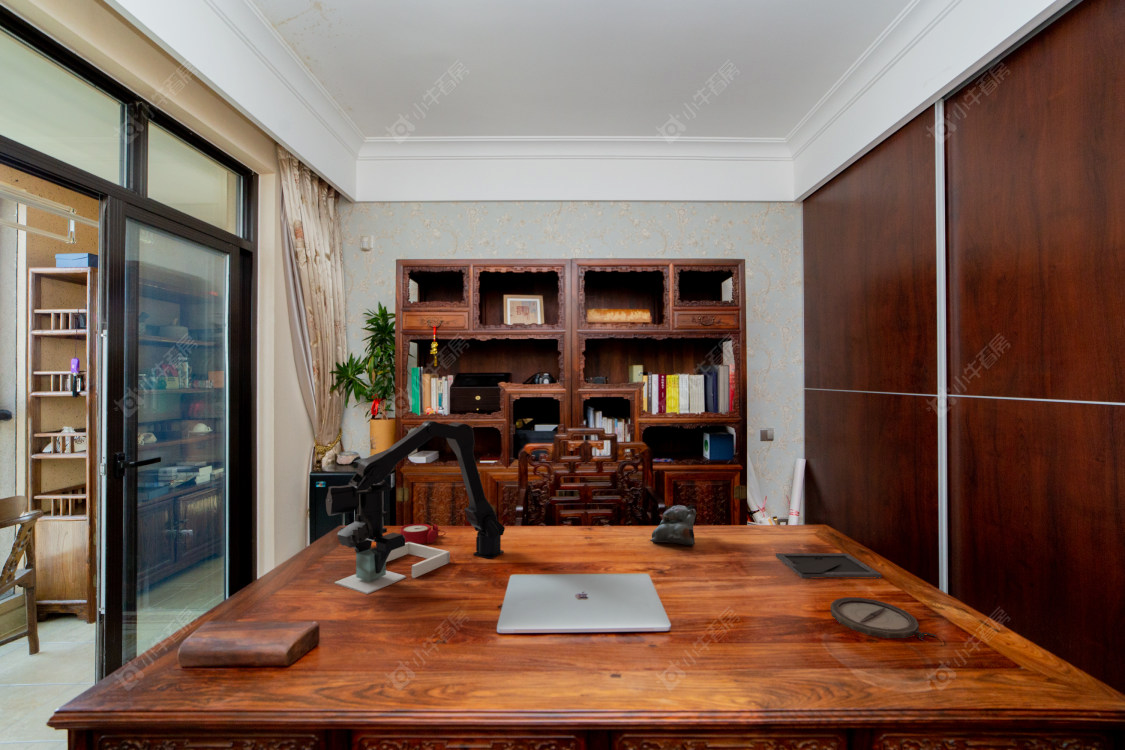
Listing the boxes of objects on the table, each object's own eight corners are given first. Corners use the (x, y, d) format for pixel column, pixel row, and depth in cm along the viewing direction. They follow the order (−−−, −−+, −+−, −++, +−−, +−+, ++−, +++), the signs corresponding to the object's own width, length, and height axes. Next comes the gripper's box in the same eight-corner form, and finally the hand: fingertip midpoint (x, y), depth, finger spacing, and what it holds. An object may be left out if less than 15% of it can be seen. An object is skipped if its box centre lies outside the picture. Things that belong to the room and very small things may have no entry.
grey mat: (405, 577, 135) (405, 576, 135) (367, 594, 124) (367, 592, 124) (374, 568, 141) (374, 566, 141) (334, 583, 131) (334, 582, 131)
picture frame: (801, 580, 137) (881, 580, 137) (801, 572, 137) (881, 572, 137) (775, 558, 153) (847, 558, 153) (775, 551, 153) (847, 551, 153)
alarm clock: (399, 524, 170) (444, 513, 171) (403, 543, 170) (449, 532, 171) (390, 534, 160) (439, 522, 161) (395, 554, 160) (443, 542, 161)
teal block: (385, 574, 134) (385, 551, 134) (369, 581, 129) (369, 557, 129) (372, 570, 136) (372, 547, 136) (356, 577, 132) (356, 553, 132)
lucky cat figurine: (642, 541, 166) (649, 498, 172) (671, 552, 170) (677, 509, 176) (672, 540, 153) (679, 493, 159) (704, 551, 157) (709, 506, 163)
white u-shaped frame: (449, 562, 146) (449, 551, 146) (414, 577, 135) (414, 566, 135) (408, 552, 154) (408, 541, 154) (372, 565, 143) (372, 554, 143)
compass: (813, 606, 121) (813, 597, 121) (878, 603, 123) (878, 594, 123) (875, 652, 101) (876, 642, 101) (952, 648, 103) (952, 637, 103)
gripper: (319, 511, 130) (319, 574, 131) (370, 522, 121) (369, 590, 121) (357, 502, 140) (356, 560, 140) (407, 511, 131) (406, 574, 131)
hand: (371, 571), depth 133 cm, fingers closed on teal block, 5 cm apart
